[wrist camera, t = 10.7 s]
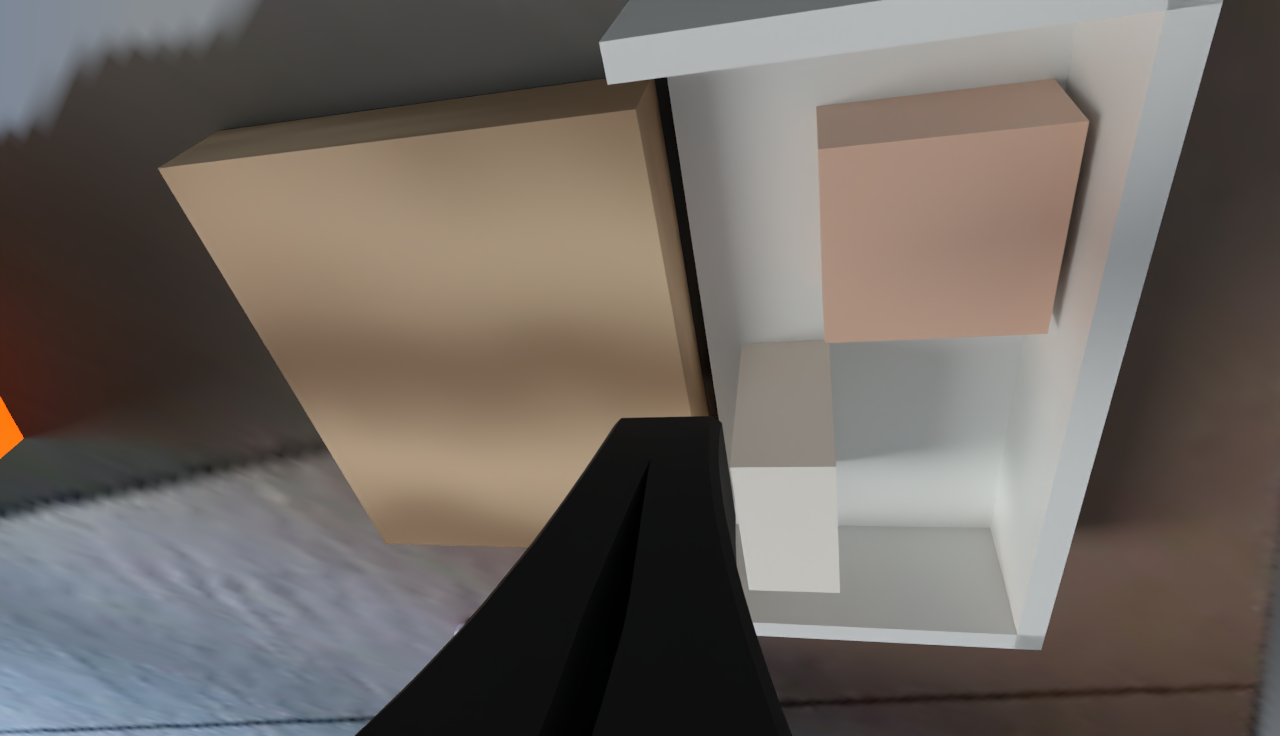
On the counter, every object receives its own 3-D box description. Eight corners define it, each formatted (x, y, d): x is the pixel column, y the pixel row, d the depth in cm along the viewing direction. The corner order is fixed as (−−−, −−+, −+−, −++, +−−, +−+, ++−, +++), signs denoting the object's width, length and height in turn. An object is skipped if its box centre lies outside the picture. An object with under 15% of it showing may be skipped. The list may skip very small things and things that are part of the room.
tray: (1009, 533, 20) (1041, 650, 18) (727, 528, 22) (717, 633, 19) (1133, -96, 11) (1238, -53, 9) (640, -14, 13) (598, 42, 10)
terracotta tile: (824, 343, 14) (822, 288, 16) (1047, 333, 14) (1022, 276, 15) (818, 149, 12) (816, 106, 14) (1089, 121, 11) (1053, 79, 13)
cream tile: (756, 462, 20) (833, 462, 19) (748, 589, 17) (840, 592, 16) (741, 344, 17) (829, 339, 17) (729, 467, 14) (835, 466, 14)
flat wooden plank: (721, 495, 21) (716, 552, 20) (412, 493, 24) (385, 544, 22) (653, 71, 14) (635, 109, 12) (217, 130, 16) (158, 168, 15)
